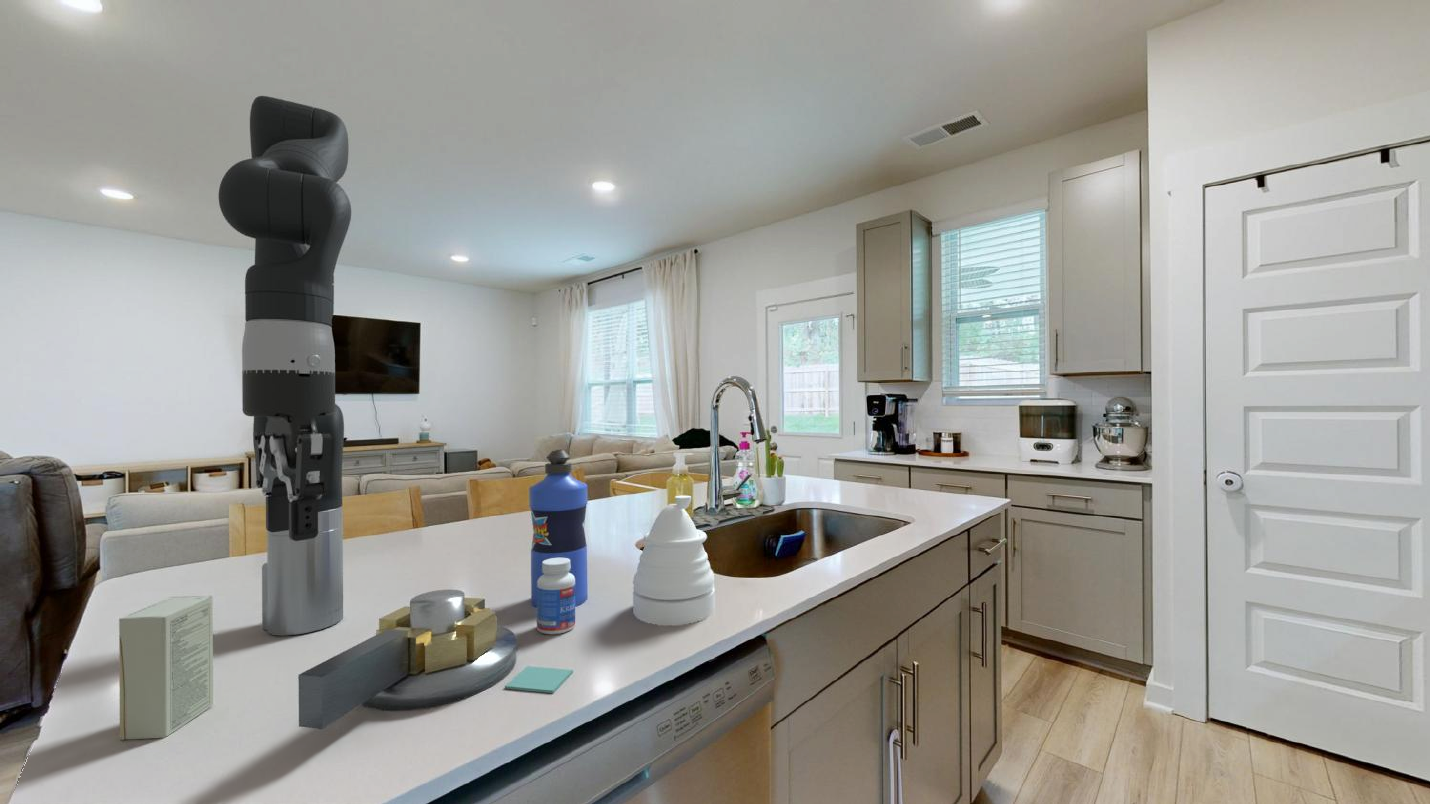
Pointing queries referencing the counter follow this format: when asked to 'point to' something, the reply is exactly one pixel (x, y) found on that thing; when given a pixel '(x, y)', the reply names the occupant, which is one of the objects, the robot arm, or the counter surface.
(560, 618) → the pill bottle
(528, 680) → the pad
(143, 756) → the counter surface
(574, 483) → the blue bottle
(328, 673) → the clamp assembly
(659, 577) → the honey pot
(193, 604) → the skincare box
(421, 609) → the housing
